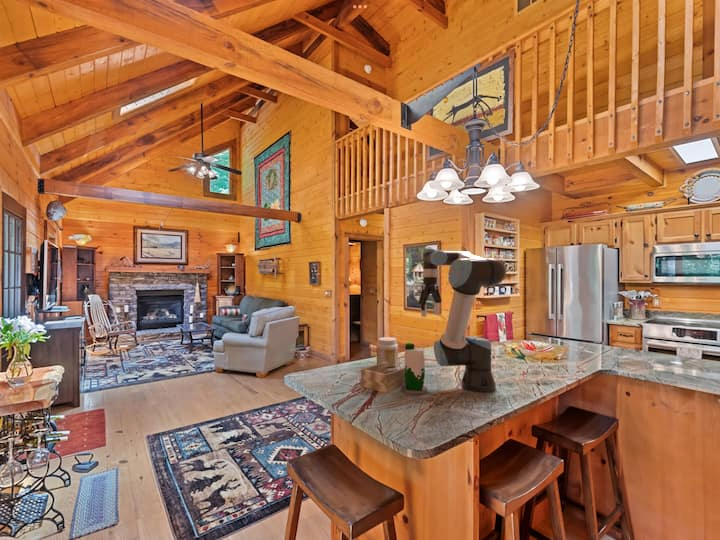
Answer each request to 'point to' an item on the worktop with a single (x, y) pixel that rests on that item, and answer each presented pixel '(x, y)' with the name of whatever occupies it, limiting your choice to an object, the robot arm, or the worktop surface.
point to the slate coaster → (414, 391)
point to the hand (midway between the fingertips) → (430, 315)
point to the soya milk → (414, 367)
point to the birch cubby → (382, 378)
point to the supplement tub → (388, 352)
